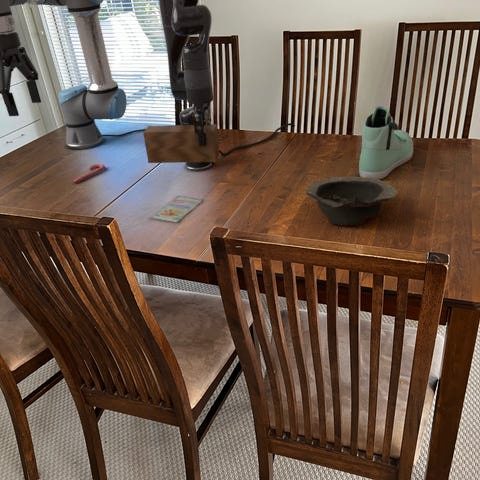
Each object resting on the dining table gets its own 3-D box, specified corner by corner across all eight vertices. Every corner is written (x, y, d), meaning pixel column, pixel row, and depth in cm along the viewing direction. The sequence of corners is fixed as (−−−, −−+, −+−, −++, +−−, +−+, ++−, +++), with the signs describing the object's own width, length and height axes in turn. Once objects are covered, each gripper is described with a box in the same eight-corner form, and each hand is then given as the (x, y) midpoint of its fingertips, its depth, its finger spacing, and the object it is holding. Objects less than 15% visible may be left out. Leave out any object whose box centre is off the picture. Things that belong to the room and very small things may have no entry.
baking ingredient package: (151, 216, 142) (178, 195, 153) (151, 217, 142) (178, 197, 153) (176, 221, 138) (202, 199, 149) (176, 222, 138) (202, 201, 150)
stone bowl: (342, 242, 123) (342, 209, 118) (290, 211, 143) (288, 182, 139) (415, 214, 131) (417, 183, 127) (356, 189, 152) (356, 161, 147)
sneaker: (418, 146, 175) (426, 90, 164) (396, 184, 150) (403, 120, 139) (381, 142, 181) (385, 87, 170) (353, 178, 156) (357, 116, 145)
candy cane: (65, 180, 171) (64, 177, 170) (98, 165, 181) (97, 162, 180) (76, 184, 168) (75, 180, 167) (108, 168, 178) (107, 164, 177)
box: (148, 163, 146) (142, 132, 141) (153, 155, 151) (148, 126, 146) (216, 162, 143) (213, 130, 138) (219, 154, 148) (216, 124, 143)
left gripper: (-10, 39, 122) (16, 121, 133) (37, 25, 143) (56, 97, 154) (-37, 41, 123) (-9, 122, 134) (13, 26, 144) (34, 97, 155)
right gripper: (207, 90, 128) (213, 150, 136) (216, 77, 140) (221, 133, 148) (179, 91, 129) (187, 151, 137) (191, 79, 141) (197, 134, 150)
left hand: (25, 109), depth 144 cm, fingers open, 13 cm apart
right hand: (205, 141), depth 143 cm, fingers closed on box, 6 cm apart
